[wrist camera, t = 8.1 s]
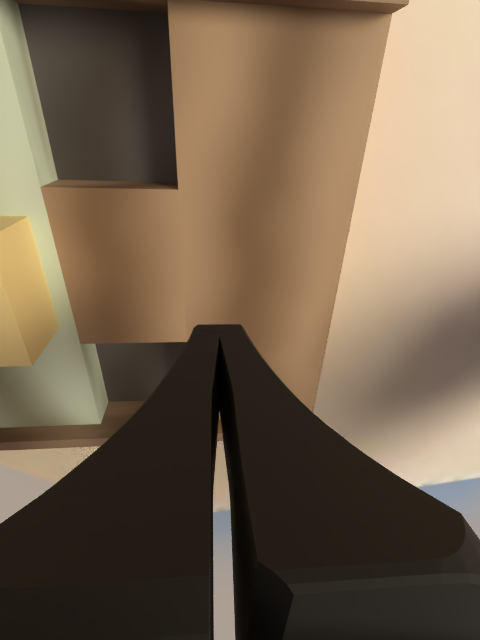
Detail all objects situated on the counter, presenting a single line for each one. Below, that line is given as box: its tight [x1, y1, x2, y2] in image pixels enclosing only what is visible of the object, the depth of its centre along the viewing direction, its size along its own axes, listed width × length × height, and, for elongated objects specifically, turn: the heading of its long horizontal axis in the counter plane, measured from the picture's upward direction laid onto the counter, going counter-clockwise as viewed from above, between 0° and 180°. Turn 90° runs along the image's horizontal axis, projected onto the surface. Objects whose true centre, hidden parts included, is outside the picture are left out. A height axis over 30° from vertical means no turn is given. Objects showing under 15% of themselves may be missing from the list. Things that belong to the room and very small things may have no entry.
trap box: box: [0, 0, 409, 450], centre depth 14 cm, size 20×19×4 cm
